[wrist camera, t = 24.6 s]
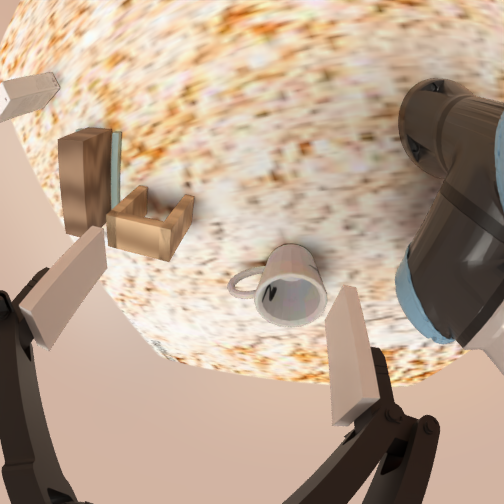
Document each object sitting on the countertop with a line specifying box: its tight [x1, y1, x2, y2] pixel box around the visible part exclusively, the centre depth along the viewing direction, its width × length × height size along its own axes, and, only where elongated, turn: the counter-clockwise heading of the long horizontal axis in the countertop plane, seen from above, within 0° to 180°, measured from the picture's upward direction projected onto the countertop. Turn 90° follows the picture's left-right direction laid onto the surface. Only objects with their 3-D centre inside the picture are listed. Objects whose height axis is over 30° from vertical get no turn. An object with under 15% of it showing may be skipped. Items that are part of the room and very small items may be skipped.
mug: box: [227, 244, 327, 327], centre depth 45 cm, size 10×15×10 cm
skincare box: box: [0, 72, 60, 123], centre depth 30 cm, size 6×4×12 cm
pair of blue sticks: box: [76, 129, 122, 209], centre depth 43 cm, size 18×9×1 cm, turn 168°
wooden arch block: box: [106, 185, 194, 262], centre depth 41 cm, size 5×10×11 cm, turn 78°
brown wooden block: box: [58, 128, 112, 237], centre depth 40 cm, size 16×5×8 cm, turn 169°
